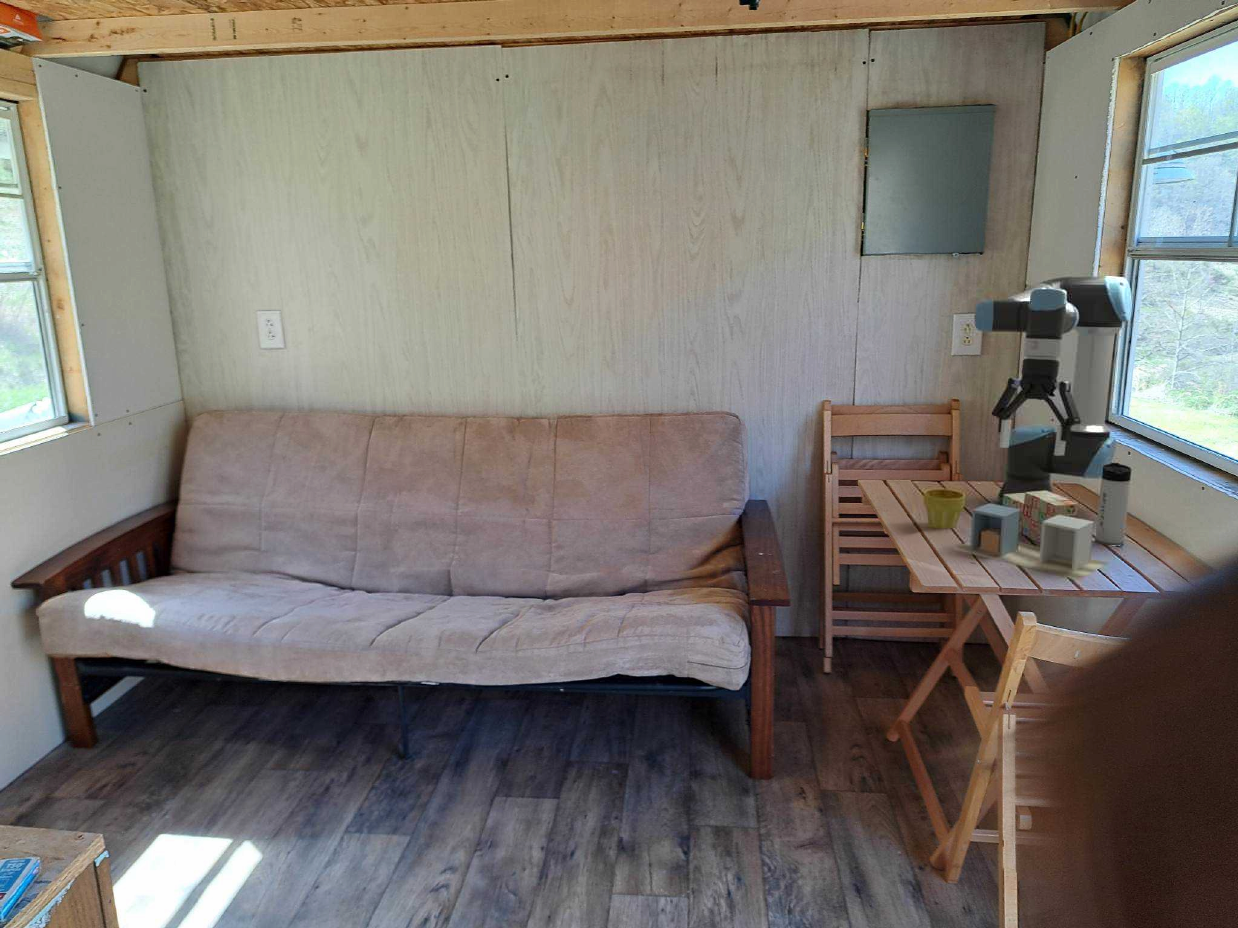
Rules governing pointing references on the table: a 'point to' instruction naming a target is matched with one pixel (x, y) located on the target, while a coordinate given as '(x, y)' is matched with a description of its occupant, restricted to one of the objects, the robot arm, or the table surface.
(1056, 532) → the box
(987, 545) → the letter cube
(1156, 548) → the table surface
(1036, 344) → the robot arm
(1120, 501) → the travel mug
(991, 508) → the hollow pale blue box
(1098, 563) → the birch board
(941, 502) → the plant pot
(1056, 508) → the stack of blocks
